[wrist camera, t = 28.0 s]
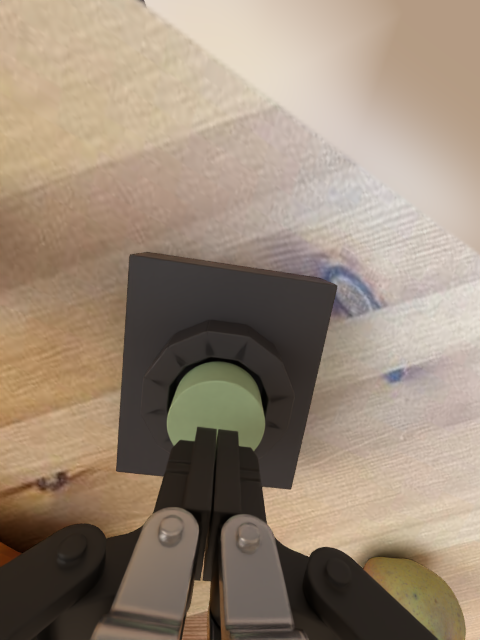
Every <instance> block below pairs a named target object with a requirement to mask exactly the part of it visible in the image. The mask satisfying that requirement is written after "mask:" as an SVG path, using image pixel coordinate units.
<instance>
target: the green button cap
mask: <svg viewBox="0 0 480 640" xmlns="http://www.w3.org/2000/svg"><path fill="white" fill-rule="evenodd" d="M197 427H205V428H214V429H217V434H218V429H223V430H232V431H238V437H239V446H243V447H251V448H252V449H253V451H254V450H255V449H256V448H257V447H258V445H259V443H260V442H261V439H262V437H263V434H264V430H265V417H264V411H263V406H262V401H261V396H260V391H259V388H258V386H257V384H256V382H255V380H254V379H253V377H252V376H251V375H250V374H249V373H248V372H246V371H245V370H244V369H242V368H241V367H239V366H237V365H234V364H231V363H227V362H219V361H217V362H208V363H204V364H201V365H199V366H197V367H195V368H193V369H192V370H190V371H189V372H188V373H187V374H186V375H185V376H184V377H183V378H182V380H181V381H180V383H179V385H178V387H177V390H176V392H175V395H174V398H173V401H172V404H171V406H170V409H169V412H168V416H167V431H168V434H169V437H170V440H171V442H172V444H173V445H174V446H175V444H176V443H177V442H178V441H179V440H188V441H195V436H196V431H197ZM216 440H217V435H216Z"/></svg>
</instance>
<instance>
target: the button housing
mask: <svg viewBox="0 0 480 640" xmlns="http://www.w3.org/2000/svg"><path fill="white" fill-rule="evenodd" d="M336 290H337V285H335V284H333V283H331V282H328V281H326V280H323V279H321V278H317V277H310V276H304V275H297V274H290V273H284V272H277V271H270V270H264V269H257V268H250V267H244V266H237V265H230V264H224V263H217V262H210V261H204V260H197V259H190V258H184V257H177V256H170V255H164V254H157V253H150V252H144V253H137V254H131V255H130V256H129V272H128V288H127V304H126V320H125V336H124V352H123V368H122V385H121V401H120V417H119V433H118V449H117V465H116V471H117V472H125V473H135V474H145V475H154V476H164V474H165V471H166V466H167V463H168V459H169V456H170V452H171V449H172V448H173V447H174V445H173V444H172V442H171V440H170V437H169V434H168V431H167V416H168V412H169V409H170V406H171V404H172V401H173V398H174V395H175V392H176V390H177V387H178V385H179V383H180V381H181V380H182V378H183V377H184V376H185V375H186V374H187V373H188V372H189V371H190V370H192V369H193V368H195V367H197V366H199V365H201V364H204V363H208V362H217V361H219V362H227V363H231V364H234V365H237V366H239V367H241V368H242V369H244V370H245V371H246V372H248V373H249V374H250V375H251V376H252V377H253V379H254V380H255V382H256V384H257V386H258V388H259V391H260V396H261V401H262V406H263V411H264V417H265V430H264V434H263V437H262V439H261V442H260V443H259V445H258V447H257V448H256V449H255V450H254V452H255V454H256V455H257V457H258V460H259V468H260V476H261V483H262V487H272V488H281V489H291V487H292V483H293V479H294V474H295V470H296V466H297V461H298V457H299V452H300V448H301V444H302V439H303V435H304V430H305V426H306V422H307V417H308V413H309V409H310V404H311V400H312V395H313V391H314V387H315V382H316V378H317V373H318V369H319V365H320V360H321V356H322V352H323V347H324V343H325V338H326V334H327V330H328V325H329V321H330V316H331V312H332V308H333V303H334V299H335V295H336Z"/></svg>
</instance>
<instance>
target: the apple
mask: <svg viewBox="0 0 480 640" xmlns="http://www.w3.org/2000/svg"><path fill="white" fill-rule="evenodd" d="M363 569H364V570H365V571H366V572H367V573H368V574H369V575H370V576H371V577H372V578H373V579H374V580H375V581H377V582H378V583H379V584H380V585H381V586H382V587H383V588H384V589H385V590H386V591H387V592H388V593H389V594H390V595H392V596H393V597H394V598H395V599H396V600H397V601H398V602H399V603H400V604H401V605H402V606H403V607H404V608H405V609H407V610H408V611H409V612H410V613H411V614H412V615H413V616H414V617H415V618H416V619H417V620H418V621H419V622H420V623H422V624H423V625H424V626H425V627H426V628H427V629H428V630H429V631H430V632H431V633H432V634H433V635H434V636H435V637H437V638H438V639H439V640H465V635H466V628H465V621H464V616H463V613H462V610H461V607H460V605H459V603H458V601H457V599H456V597H455V595H454V593H453V591H452V590H451V588H450V587H449V586H448V585H447V583H446V582H445V581H444V580H443V579H442V578H441V577H439V576H438V575H437V574H435V573H434V572H432V571H431V570H429V569H427V568H426V567H424V566H423V565H421V564H419V563H417V562H415V561H413V560H410V559H404V558H401V559H398V558H386V557H373V558H371V559H369V560H368V561H367V563H366V565H365V567H364V568H363Z"/></svg>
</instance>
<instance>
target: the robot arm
mask: <svg viewBox="0 0 480 640" xmlns="http://www.w3.org/2000/svg"><path fill="white" fill-rule="evenodd" d="M216 435H217V440H216ZM204 553H205V558H204ZM203 559H204V570H203V581H211V589H210V601H209V607H208V613H207V640H439V639H438V638H437V637H435V636H434V635H433V634H432V633H431V632H430V631H429V630H428V629H427V628H426V627H425V626H424V625H423V624H422V623H420V622H419V621H418V620H417V619H416V618H415V617H414V616H413V615H412V614H411V613H410V612H409V611H408V610H407V609H405V608H404V607H403V606H402V605H401V604H400V603H399V602H398V601H397V600H396V599H395V598H394V597H393V596H392V595H390V594H389V593H388V592H387V591H386V590H385V589H384V588H383V587H382V586H381V585H380V584H379V583H378V582H377V581H375V580H374V579H373V578H372V577H371V576H370V575H369V574H368V573H367V572H366V571H365V570H364V569H363V568H362V567H360V566H359V565H358V564H357V563H356V562H355V561H354V560H353V559H352V558H351V557H349V556H348V555H347V554H345V553H344V552H342V551H340V550H337V549H335V548H330V547H322V548H318V549H316V550H315V551H313V552H312V553H311V555H310V557H308V556H305V555H303V554H300V553H298V552H296V551H293V550H291V549H289V548H287V547H285V546H284V545H282V544H281V543H280V542H279V541H278V540H277V539H276V538H275V537H274V534H273V532H272V530H271V529H270V527H269V526H268V525H267V521H266V514H265V507H264V499H263V491H262V483H261V476H260V468H259V460H258V457H257V455H256V454H255V452H254V451H253V449H252V448H251V447H243V446H239V437H238V431H232V430H223V429H218V434H217V429H214V428H205V427H197V431H196V436H195V441H188V440H179V441H178V442H177V443H176V444H175V446H174V447H173V448H172V449H171V452H170V456H169V459H168V463H167V466H166V471H165V474H164V477H163V481H162V484H161V488H160V491H159V495H158V498H157V502H156V505H155V509H154V512H153V514H152V515H151V516H150V517H149V518H148V519H147V521H146V522H145V524H144V525H143V526H141V527H140V528H138V529H137V530H135V531H133V532H130V533H128V534H124V535H120V536H115V537H110V538H105V535H104V533H103V532H102V530H100V529H99V528H98V527H96V526H94V525H91V524H75V525H71V526H68V527H66V528H63V529H61V530H59V531H58V532H56V533H54V534H53V535H51V536H50V537H48V538H46V539H45V540H43V541H41V542H40V543H38V544H37V545H35V546H33V547H32V548H30V549H29V550H27V551H25V552H24V553H22V554H21V555H19V556H17V557H16V558H14V559H12V560H11V561H9V562H8V563H6V564H4V565H3V566H1V567H0V640H182V638H183V632H184V627H185V621H186V616H187V612H188V610H189V607H190V604H191V599H192V593H193V586H194V580H199V581H200V578H201V572H202V566H203Z"/></svg>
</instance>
